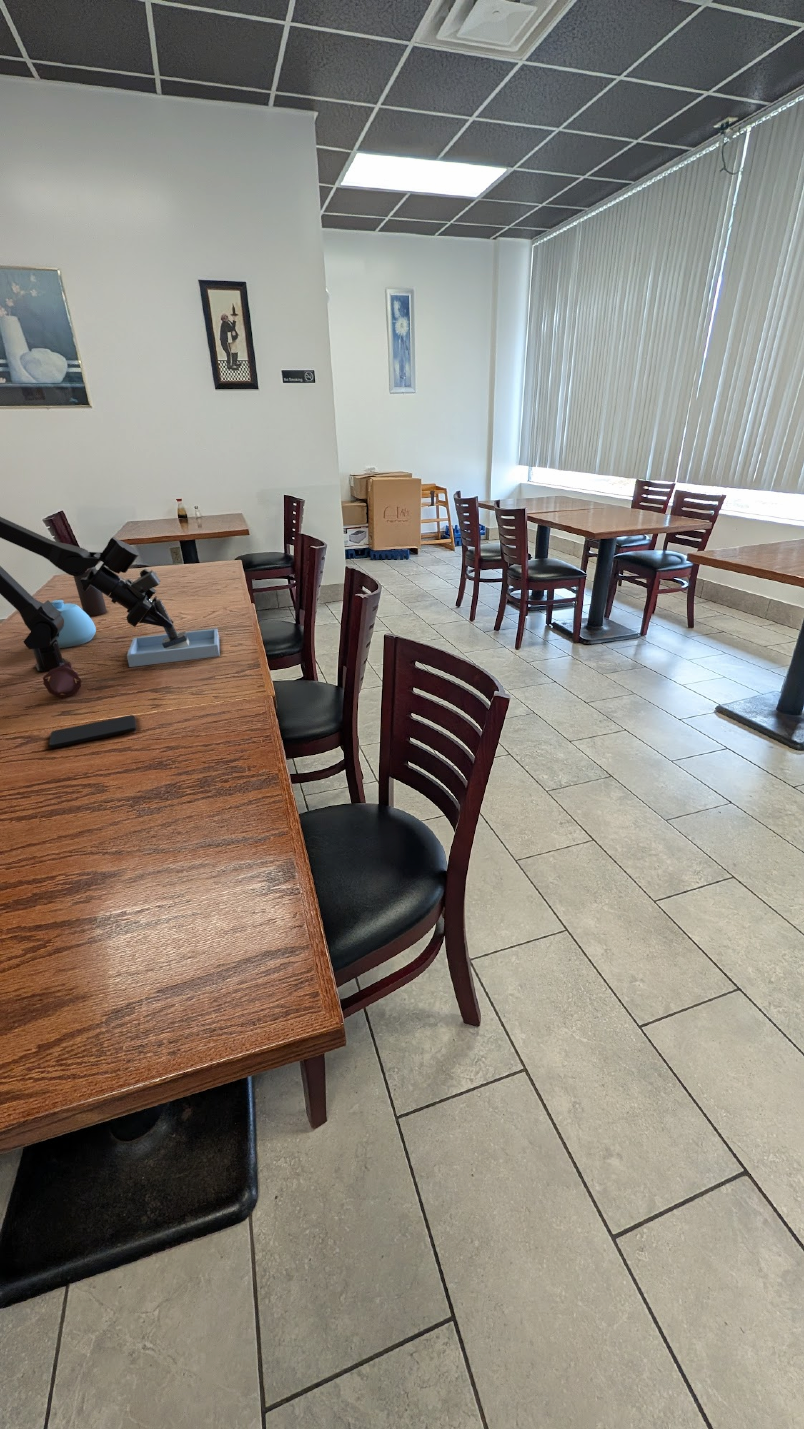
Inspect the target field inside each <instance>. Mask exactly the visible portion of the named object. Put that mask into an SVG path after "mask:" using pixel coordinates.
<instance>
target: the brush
mask: <svg viewBox="0 0 804 1429" xmlns="http://www.w3.org/2000/svg"><path fill="white" fill-rule="evenodd" d="M154 602H155V606H156V610H157V611H158V612H159V613H160V614H162V615H163V616H164V617H165V618H166V619H167V620H168V621H169V622H171V620H172V618H171V617H170V615H169V613H168V611H167V609H166V607H165V605H164V604H163V601H162V600H161V599H157V600H156V601H154ZM152 603H153V602H152ZM170 618H171V619H170ZM171 623H172V622H171ZM163 629H164V631H165V634H167V635H168V637H167V638H164V639H163V642H162V645H163V647H164V648H165V649H166V650H170V649H178V648H185V647H188V646H189V640H188V638H187V633H186V632H187V631H186V630H184V631H181V632H177V630H176V628H175V626H174V625H173V626H172V627H171V628H166V627H163ZM177 633H178V634H177Z"/></svg>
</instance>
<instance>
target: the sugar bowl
mask: <svg viewBox="0 0 804 1429" xmlns="http://www.w3.org/2000/svg"><path fill="white" fill-rule="evenodd" d="M50 602H51V603H52V605H53V606H54V607H55V608H56V609H57V610H59V611H61V612H62V613H61V614H60V615H61V616H62V617H63V619H64V627H63V629H62V630H61V631H60V633H59V637H58V638H57V639H56V640H57V641H58V645H59V648H60V649H65V648H71V647H72V648H73V647H77V646H80V645H83V644H85V643H88V642H90V641H91V640H92V639H93V638H94V637H95V634H96V633H97V627H96V625H95V623H94V621H93V619H92V618H91V616H88V615H87V614H86V613H85V612H84V611H83V608H82V607H80V606H79V605H77V604H76V603H70V602H69V603H68V602H67V603H64V600H63V599H55V600H52V601H50Z"/></svg>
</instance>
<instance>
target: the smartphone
mask: <svg viewBox="0 0 804 1429" xmlns="http://www.w3.org/2000/svg"><path fill="white" fill-rule="evenodd" d="M136 722H137V721H136V716H135V715H133V714H129V715H126V716H125V715H124V716H120V717H116V718H110V719H106V720H101V721H96V722H90V723H85V724H81V725H75V726H70V727H66V728H61V729H56V730H52V731H51V732H50V735H49V741H48V748H49V749H56V748H62V747H67V746H71V745H76V744H81V743H85V742H90V741H96V740H99V739H104V738H110V737H114V736H119V735H124V734H129V733H132V732H135V731H137V723H136Z"/></svg>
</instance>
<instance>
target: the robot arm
mask: <svg viewBox="0 0 804 1429" xmlns="http://www.w3.org/2000/svg"><path fill="white" fill-rule="evenodd" d="M0 539H2V540H4V541H6V542H9V543H10V544H13V545H16V546H18V547H20V548H23V549H25V550H27V551H29V552H32V553H34V554H36V555H38V556H41V557H42V558H45V559H46V560H47V561H49V562H50V563H51V564H52V565H53V566H55V567H56V568H58V569H59V570H61V571H62V572H63V573H66V574H67V575H69V576H72V577H74V576H80V575H83V574H84V573H85V572H87V571H88V570H89V569H90V568H93V567H96V566H98V565H99V564H100V563H101V562H102V563H101V565H100V566H99V568H98V569H97V568H96V569H92V571H91V572H90V573H89V575H88V576H87V577H86V578H82V579H81V580H80V582H81V584H82V589H83V591H86V590H87V589H88V588H89V586H90V585H91V586H93V587H94V588H96V589H97V590H99V591H100V592H102V594H103V595H105V596H106V597H108V598H109V599H111V600H110V602H111V603H113V604H116V603H117V604H118V605H120V606H121V607H123V608H124V609H126V612H127V615H126V617H125V618H126V622H127V624H129V625H130V626H132V627H134V628H136V627H137V626H138V624H146V625H152V626H156V627H161V628H164V627H166V628H171V627H172V626H174V620H173V619H172V618H171V617H170V619H171V622H172V623H171V622H169V621H168V620H167V619H166V618H165V617H164V616H163V615H162V614H160V613H159V612H158V611H157V610H156V606H155V602H154V601H156V600H158V596H157V595H155V594H156V592H157V590H156V589H155V588H156V587H158V586H159V585H160V584H161V583H160V582H161V579H160V578H159V576H158V575H157V573H156V572H155V571H154V570H152V569H151V570H149V569H147V568H144V569H142V570H140V572H139V575H140V577H138V578H137V579H136V580H134V581H133V580H132V579H130V578H126V579H124V578H123V577H122V576H120V574H121V573H122V574H126V573H127V572H128V570H129V569H130V568H131V567H132V565H133V564H134V563H135V561H136V560H137V558H138V557H139V556H140V553H139V551H138V550H136V549H135V547H133V546H132V545H131V544H129V543H126V542H124V541H123V540H120V539H117V538H116V537H115V536H112V537H110V539H109V540H108V542H107V545H105V547H104V549H103V550H102V551H101V552H100V551H89V550H88V549H85V548H84V547H80V546H77V545H74V544H70V543H64V542H61V541H56V540H53V539H51V538H48V537H46V536H43V535H41V534H40V533H37V532H35V531H32V530H31V529H29V528H26V527H24V526H22V525H19V524H18V523H15V522H13V521H12V520H11V521H10V520H8V519H7V518H5V517H1V516H0ZM87 550H88V551H87ZM154 595H155V596H154ZM0 596H2V597H3V598H4V599H5V600H6V601H7V602H8V603H9V604H10V605H11V606H12V607H13V608H14V609H16V611H18V613H19V614H20V615H19V616H21V619H22V621H23V623H24V624H25V626H26V627H27V628H28V630H29V631H30V632H29V634H28V635H27V636H26V638H25V639H24V640H23V644H24V645H25V646H26V648H27V649H28V650H32V652H33V655H34V659H35V661H36V663H34V665H35V668H36V670H37V672H38V673H43V672H49V671H50V670H51V669H54V668H57V667H62V664H63V663H65V662H67V661H66V660H65V658H64V657H63V654H62V652H61V648H59V645H58V641H57V640H56V639H57V638H58V637H59V633H60V631H61V630H62V629H63V627H64V619H63V617H62V616H61V615H60V614H61V613H62V612H61V611H59V610H57V609H56V608H55V607H54V606H53V605H52V603H51V602H52V601H50V600H46V601H45V602H41V601H40V600H37V599H36V598H34V597H33V596H32V595H31V594H30V593H29V592H28V591H27V590H26V589H25V588H24V586H22V585H21V584H20V583H18V581H17V580H16V579H15V578H14V577H12V575H11V574H9V573H8V571H6V570H5V569H4V568H3V567H2V566H1V565H0ZM153 596H154V597H153ZM152 597H153V599H152ZM152 602H153V603H152Z"/></svg>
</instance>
